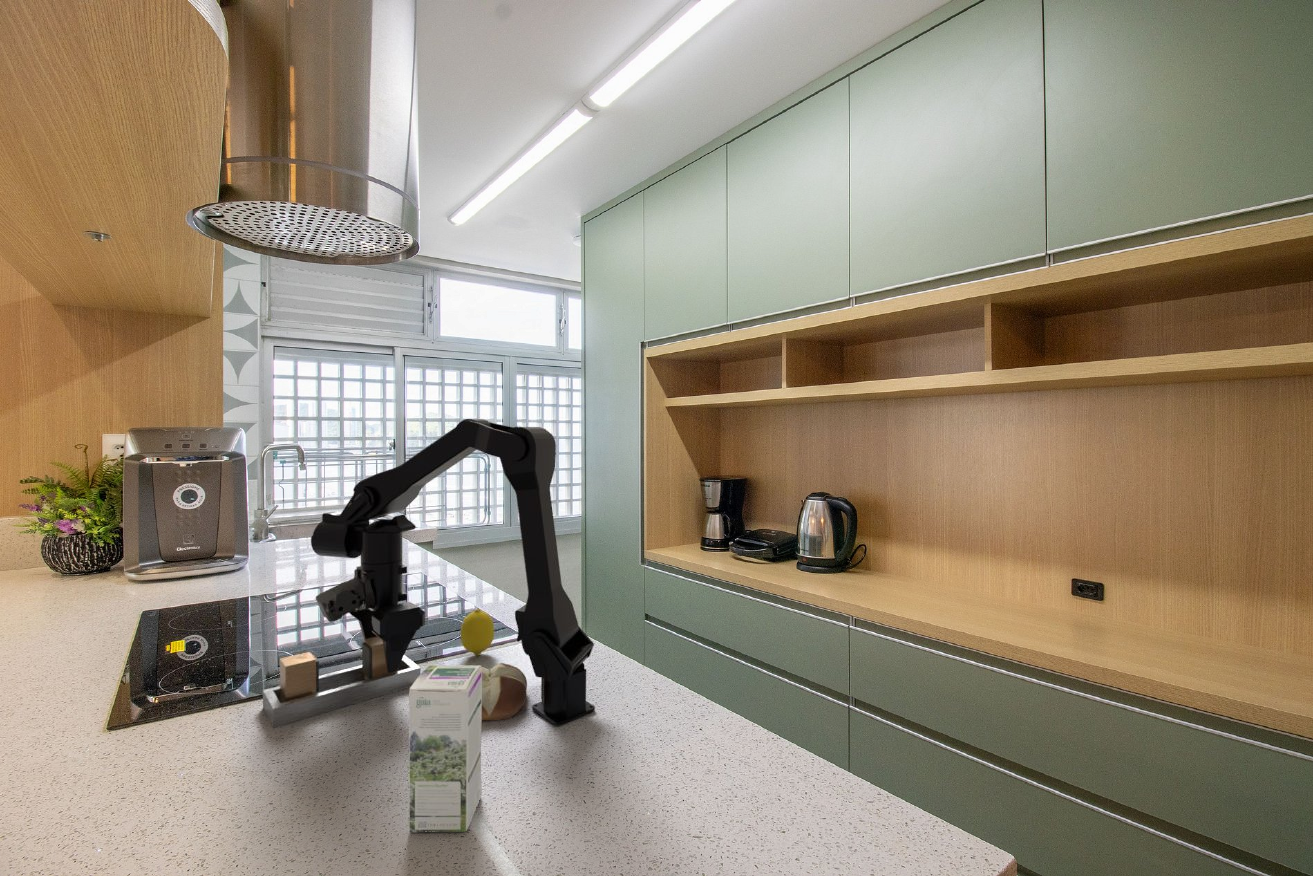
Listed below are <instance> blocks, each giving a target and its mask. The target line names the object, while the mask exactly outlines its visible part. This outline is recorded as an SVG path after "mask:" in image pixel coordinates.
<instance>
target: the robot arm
mask: <svg viewBox="0 0 1313 876" xmlns="http://www.w3.org/2000/svg"><path fill="white" fill-rule="evenodd" d="M476 451H479V452H482V453H484V454H486V455H489V456H493V457H496V458H499V460H500V461H499V462H500V463H501V467H502V470H503V475H504V476H505V477H506V479H507V480H508V482H509V484H510V486H511V487H512V489H513V490H514V493H515V497H516V504H517V512H518V520H519V529H520V537H521V545H522V555H523V561H524V562H523V563H524V569H525V570H524V571H525V577H526V586H527V599H526V604H524V605H523V606H521V607H518V608H517V610H515V611H514V618H515V622H516V625H517V638H516V641H517V642H520V641H521V647H522V650H523V652H524V654H525V655H526V656H528V657H529V660H530V664H531V666H532V670H533V672H534V675H535V677H536V678H541V679H540V680H541V682H540V683H541V684H540V685H541V686H540V687H541V690H540V691H541V692H540V693H541V694H540V697H541V701H540V702H539V701H538V702H537V703H534V704H532V705H531V708H532V710H533V711H534V712H535V713H537V714H538V715H540V716H541V717H543V718H544V719H546V720H547V721H549V722H550V723H551V724H553V725H554V726H557V727H558V726H561V725H564V724H567V723H569V722H570V721H573V720H576V719H578V718H582V717H583V716H585V715H588V714H590V713H593V712H594V711H596V706H595V705H593V704H592V703H590V702H589V701H587V669H586V668H585V663H584V662H585V661H586V660H587V659H589V657H590V656H591V654H592V652H593V648H594V646H595V644H594V642H593V641H592V639H591V638H590V637H589V636H588V635H587V634H586V633H585V632H584V631H583V629H582V628H581V627H580V626H579V623H578V617H577V614H576V612H575V608H574V604H573V602H572V601H571V599H570V597H569V596H568V594H567V592H566V590H565V589H564V587H563V585H562V577H561V576H562V575H561V569H560V568H561V567H560V559H559V553H558V545H557V536H556V529H555V520H554V511H553V503H552V494H551V484H552V480H553V477H554V472H555V469H556V455H557V454H556V453H557V445H556V440H555V437H554V435H553V434H552V433H551V432H550V431H548V430H547V429H546V428H543V427H540V426H510V425H504V424H498V423H494V422H492V421H489V420H487V419H484V418H464V419H463V420H461V421H459V422H458V424H456V426H454V428H452V429H451V430H449V431H448V432H447V433H445V434H444V435H442V436H440V437H439V438H437V439H436V440H435V441H434V442H432V443H430V444H429V445H428V446H426V447H424V448H423V449H422V450H420V451H419V452H417V453H416V454H415V455H413V456H412V457H410V458H408V460H406V461H404V462H403V463H402V464H399V465H398V466H396V467H393V468H390V469H388V470H383V471H381V472H378V473H375V474H373V475H371V476H369V477H367V478H363V479H362V480H360V481H358V482H357V483H356V484H355V485H354V488H353V494H352V496H351V498H350V499H349V500H348V502H347V503H346V505H345V507H344V508H343V510H342V512H340V511H330V512H323V513H322V516H321V519H322V521H320V522H319V523H318V524H317V525H316V527H315V528H314V530H313V532H312V535H311V536H310V545H311V548H312V551H313V552H314V554H316V555H318V556H321V557H334V558H346V559H356V558H359V557H360V565H359V566H356V568H355V569H354V574H353V578H350V579H349V580H346V581H343V582H340V583H339V584H337V585H335V586H333V587H331V588H329V589H326V590H325V591H322V592H321V593H319V594H317V595H316V596H315V601H316V603H317V605H318V606H319V609H320V611H321V614H322V616H323V618H325V619H327V621H328V622H329V623H333V622H334V623H335V622H337V621H339V620H341V619H342V618H343V616H345V615H347V614H349V615H350V616H352V617H353V618H355V619H357V622H358V624H359V628H360V631H361V633H362V637H363V641H364V642H365V639H368V638H372V637H377V636H378V637H379V638H381V639H382V641H383V647H384V653H385V659H386V665H387V670H388V672H389V673H391V672H395V671H396V670H397V668H398V666H399V664H400V662H401V660H402V658H403V656H404V655H405V653H406V651H407V650H408V648H409V646H410V644H411V642H412V640H413V638H414V636H415V635H416V633H417V631H419V630H420V629H421V628H422V627H424V626H425V625H426V611H424V610H423V609H422V608H420V607H419V606H418V605H416V604H415V603H412V602H411V601H408V593H407V592H405V591H404V590H403V575H404V574H408V566H407V565H405V564H403V533H405V532H411V531H412V530H415V529H416V524H414V523H413V522H412V521H411V520H409V519H408V518H407V517H406V515H405V514H401V515H395V516H393V517H392V518H391V519H388V518H386V517H387V516H388V515H391V514H397V513H399V512H400V513H401V512H402V511H405V510H406V509H407V508H408V506H409V505H410V504H412V502H413V501H415V500H416V499H417V497H418V496H419V493H420V492H421V490H422V489H423V488H424V487H425V485H427V484H429V483H430V482H432V481H433V480H435V479H436V478H437V477H438V476H441V475H442V474H443V473H445V472H446V471H447V470H450V469H451V468H452V467H453V466H455V465H457V464H458V463H459V462H460V461H463V460H464V459H466V458H467V457H468V456H470V455H472V454H473V453H474V452H476ZM375 519H376V520H375ZM371 520H374V521H373V522H371V523H370V521H371ZM403 601H407V602H403ZM399 602H402V603H399Z"/></svg>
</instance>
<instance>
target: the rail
mask: <svg viewBox="0 0 1313 876" xmlns="http://www.w3.org/2000/svg"><path fill="white" fill-rule="evenodd" d="M319 666H320V661H319V659H318V658H317V657H316V656H315V655H314V654H312V653H311V652H310V651H307V652H303V653H298V654H294V655H290V656H285V657H281V658H279V685H278V686H274V687H270V688H267V689H263V690H262V708H263V711H264V713H265V715H266V716H267V719H268V721H269V722H270V724H271V726H272V728H276V727H281V726H283V725H287V724H290V723H293V722H298V721H301V720H304V719H307V718H310V717H314V716H317V715H321V714H324V713H328V712H331V711H334V710H337V709H341V708H344V707H345V708H346V707H347V706H351V705H354V704H357V703H361V702H365V701H367V700H370V699H373V698H378V697H381V696H384V695H389V694H391V693H394V692H395V693H396V692H398V691H401V690H405V689H408V688H410V687H411V686H412V685H413V683H414V682H415V681H416V679H417V678H418V677H419V675H420V674H421V667H420V666H419V665H418V664H417V663H415V662H414V661H413V660H411V658H409V657H408V656H406V655H405V654H404V656H403V658H402V660H401V662H400V664H399V666H398V671H397V672H393V673H390V674H386V675H382V676H379V677H375V678H371V679H368V680H366V679H365V674H364V673H363V672H362V664H360V665H357V666H353V667H349V668H345V669H341V670H337V671H332V672H329V673H325V674H322V675H320V667H319Z"/></svg>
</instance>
